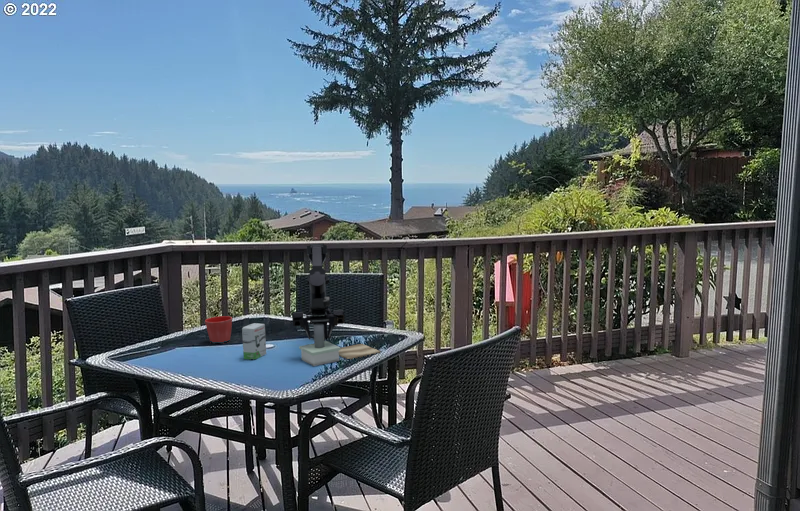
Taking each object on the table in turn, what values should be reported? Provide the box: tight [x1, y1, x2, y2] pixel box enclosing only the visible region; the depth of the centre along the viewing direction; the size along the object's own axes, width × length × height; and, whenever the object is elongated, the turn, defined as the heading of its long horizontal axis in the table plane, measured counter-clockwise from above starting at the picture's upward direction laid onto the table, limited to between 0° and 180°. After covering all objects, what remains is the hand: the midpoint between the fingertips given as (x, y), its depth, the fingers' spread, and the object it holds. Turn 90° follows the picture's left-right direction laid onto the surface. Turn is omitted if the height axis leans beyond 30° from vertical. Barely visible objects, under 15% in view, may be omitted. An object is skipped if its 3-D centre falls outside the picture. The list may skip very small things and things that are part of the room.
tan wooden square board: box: [339, 343, 382, 360], centre depth 221 cm, size 14×14×1 cm
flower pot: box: [204, 315, 233, 342], centre depth 241 cm, size 11×11×10 cm
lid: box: [298, 324, 342, 356], centre depth 211 cm, size 11×11×9 cm
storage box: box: [300, 350, 340, 367], centre depth 212 cm, size 10×10×4 cm
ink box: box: [241, 322, 267, 361], centre depth 219 cm, size 9×5×12 cm, turn 162°
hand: (319, 338), depth 210 cm, fingers open, 6 cm apart
